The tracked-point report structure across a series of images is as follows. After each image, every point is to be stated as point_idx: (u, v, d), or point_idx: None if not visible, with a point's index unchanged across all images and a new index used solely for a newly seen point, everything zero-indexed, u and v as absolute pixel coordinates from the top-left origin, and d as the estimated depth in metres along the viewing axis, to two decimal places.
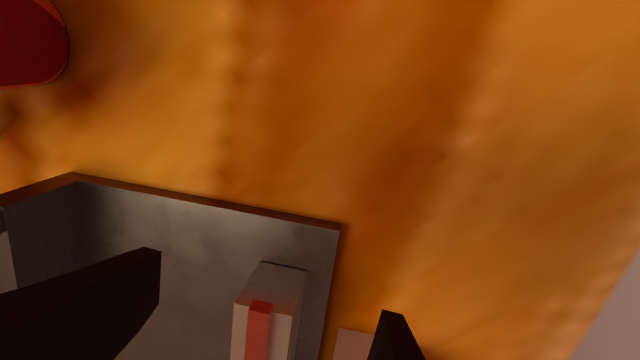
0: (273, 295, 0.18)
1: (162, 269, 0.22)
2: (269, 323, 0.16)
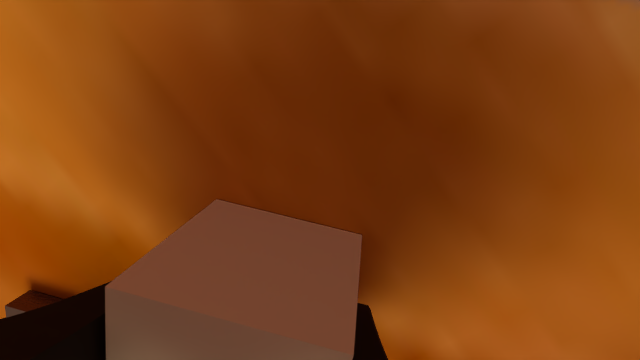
0: None
1: None
2: None
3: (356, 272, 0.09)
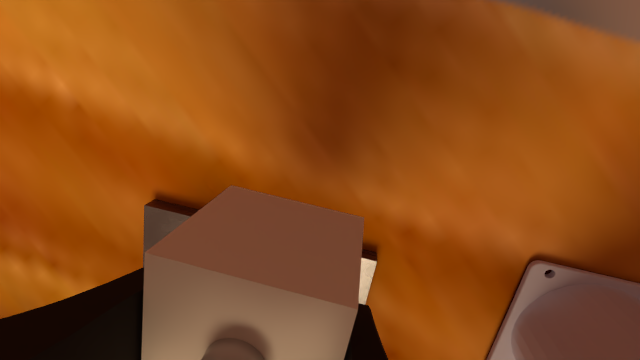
0: None
1: None
2: None
3: (359, 247, 0.10)
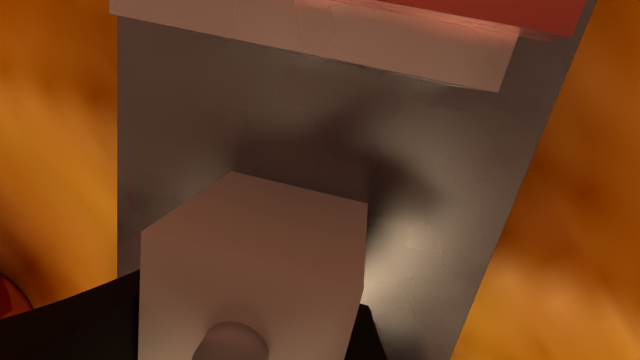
0: None
1: None
2: None
3: (363, 231, 0.10)
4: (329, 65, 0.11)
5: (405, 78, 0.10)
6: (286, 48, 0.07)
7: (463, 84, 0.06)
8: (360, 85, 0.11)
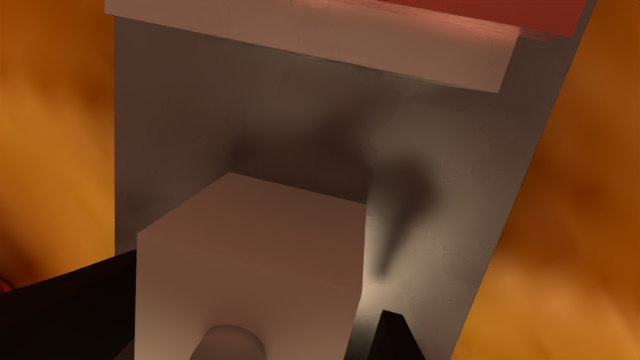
0: None
1: None
2: None
3: (362, 232, 0.10)
4: (327, 65, 0.11)
5: (404, 78, 0.10)
6: (283, 48, 0.07)
7: (462, 85, 0.06)
8: (359, 85, 0.11)
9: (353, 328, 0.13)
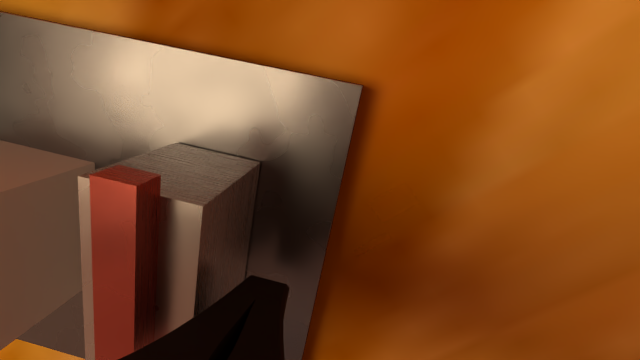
0: (177, 177, 0.09)
1: None
2: (147, 216, 0.07)
3: (47, 313, 0.12)
4: None
5: None
6: (83, 314, 0.09)
7: None
8: None
9: None
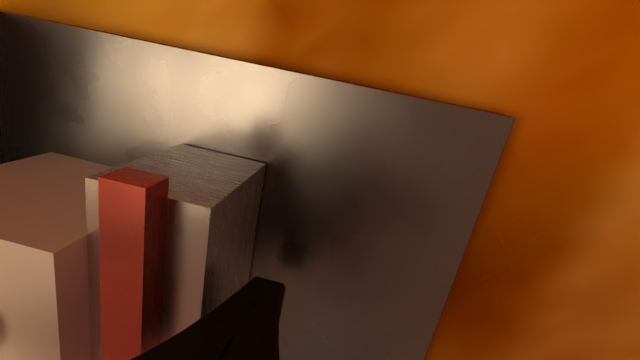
0: (184, 179, 0.09)
1: None
2: (155, 219, 0.07)
3: None
4: (313, 286, 0.12)
5: (303, 337, 0.13)
6: (89, 315, 0.09)
7: None
8: (297, 307, 0.13)
9: None
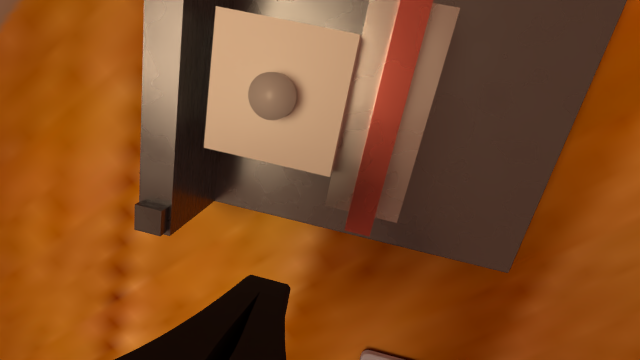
0: None
1: None
2: (429, 10, 0.11)
3: None
4: (462, 129, 0.16)
5: (447, 176, 0.17)
6: (347, 105, 0.13)
7: (328, 191, 0.14)
8: (446, 149, 0.17)
9: None
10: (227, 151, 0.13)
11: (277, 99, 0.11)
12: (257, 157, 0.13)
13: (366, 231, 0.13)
